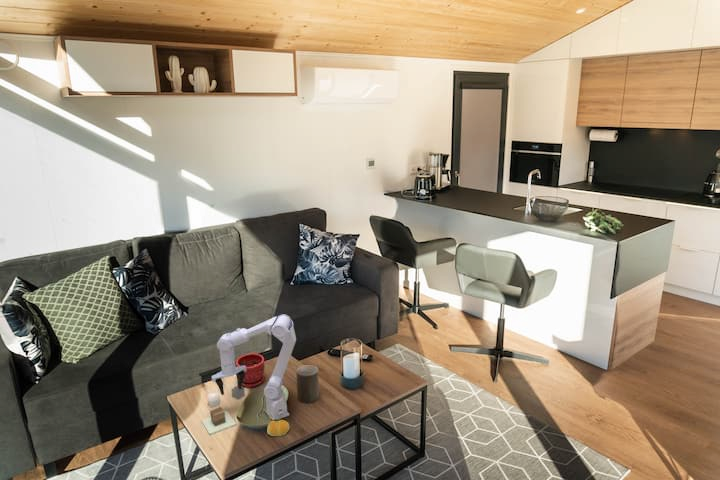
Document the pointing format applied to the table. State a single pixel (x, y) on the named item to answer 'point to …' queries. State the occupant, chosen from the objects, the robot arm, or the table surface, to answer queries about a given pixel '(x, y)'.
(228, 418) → the plate
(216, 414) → the walnut block
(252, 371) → the plant pot
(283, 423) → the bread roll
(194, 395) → the table surface
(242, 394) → the grey metal block
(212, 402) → the white rounded dome
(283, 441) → the table surface
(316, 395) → the pillar candle
